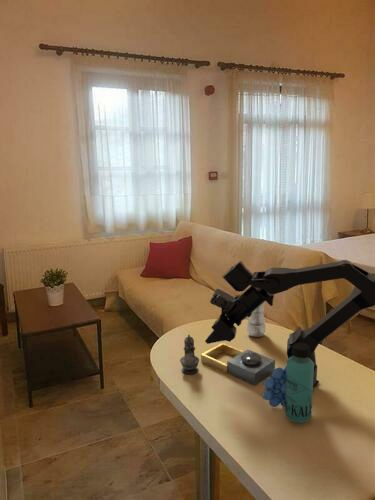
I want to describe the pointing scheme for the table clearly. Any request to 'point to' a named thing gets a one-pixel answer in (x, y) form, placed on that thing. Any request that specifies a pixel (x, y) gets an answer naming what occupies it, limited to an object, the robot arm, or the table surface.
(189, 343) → the dark grey tall piece
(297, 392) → the beverage bottle
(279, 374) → the grapes
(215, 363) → the two-tone flat frame block
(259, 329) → the plastic bottle
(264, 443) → the table surface
